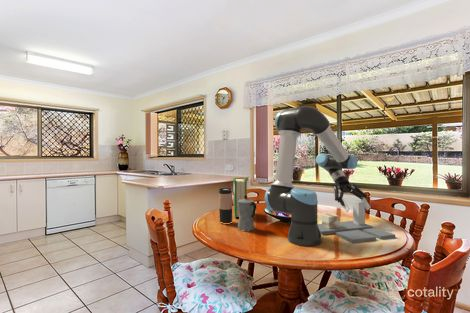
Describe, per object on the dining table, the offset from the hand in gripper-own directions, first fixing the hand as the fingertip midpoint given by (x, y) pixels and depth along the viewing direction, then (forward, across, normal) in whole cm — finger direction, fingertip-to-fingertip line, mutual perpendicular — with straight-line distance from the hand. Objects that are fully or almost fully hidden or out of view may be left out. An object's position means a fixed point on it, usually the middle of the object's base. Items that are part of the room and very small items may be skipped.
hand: (358, 209), depth 135 cm
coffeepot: (-2, +60, -16) cm, 62 cm away
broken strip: (+17, +10, +4) cm, 20 cm away
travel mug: (-13, +68, -27) cm, 74 cm away
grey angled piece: (+7, +13, -6) cm, 16 cm away
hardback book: (-24, +55, -38) cm, 71 cm away
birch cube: (+6, +19, -4) cm, 20 cm away
